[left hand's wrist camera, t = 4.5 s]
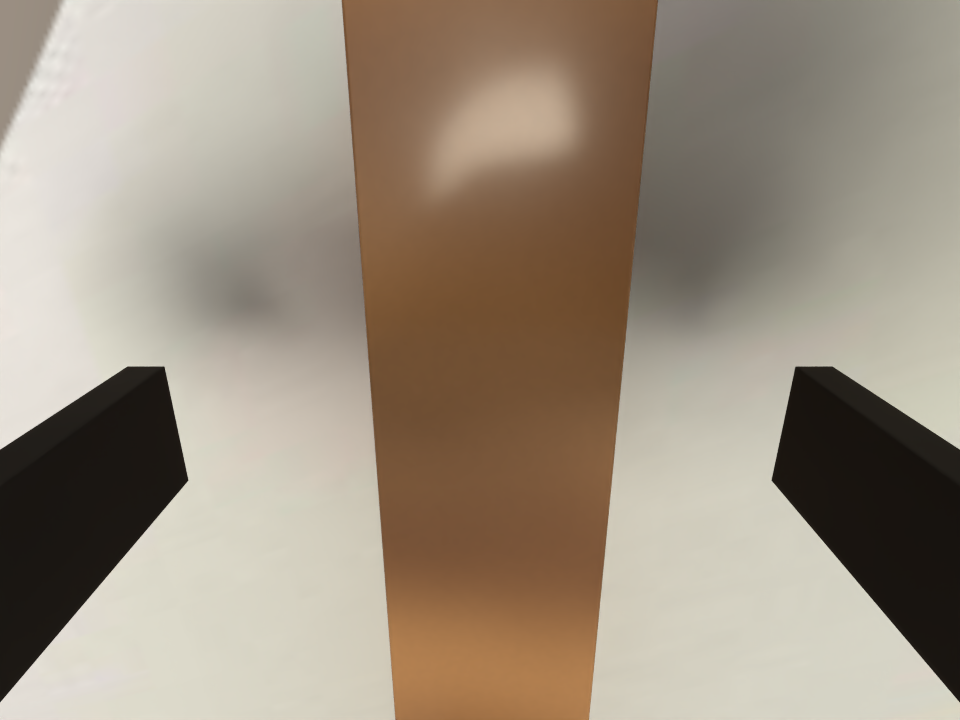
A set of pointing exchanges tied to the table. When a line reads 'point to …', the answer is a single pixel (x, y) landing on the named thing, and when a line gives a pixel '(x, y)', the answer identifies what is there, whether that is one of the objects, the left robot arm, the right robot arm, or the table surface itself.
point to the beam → (496, 331)
